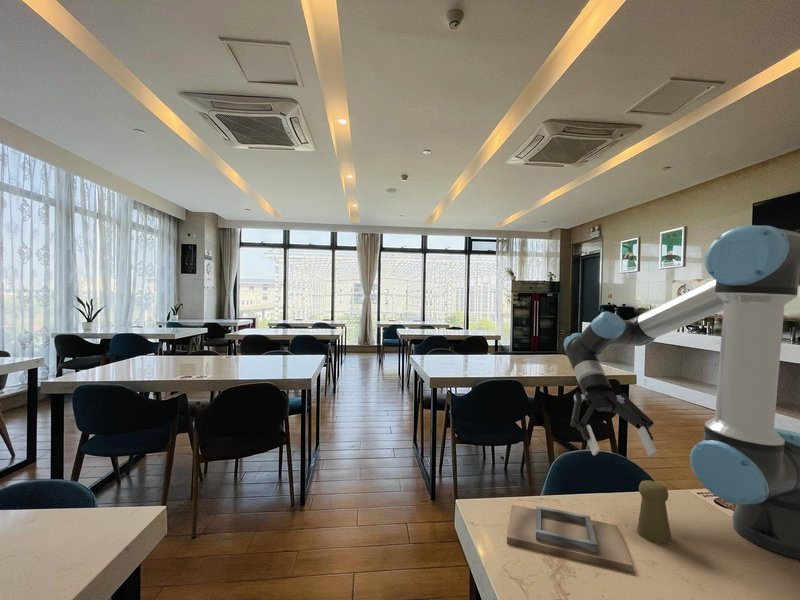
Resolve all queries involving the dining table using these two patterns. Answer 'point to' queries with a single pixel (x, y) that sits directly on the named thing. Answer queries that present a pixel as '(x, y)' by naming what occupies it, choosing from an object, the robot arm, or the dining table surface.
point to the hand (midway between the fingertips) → (624, 453)
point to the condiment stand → (568, 536)
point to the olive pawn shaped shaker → (654, 513)
